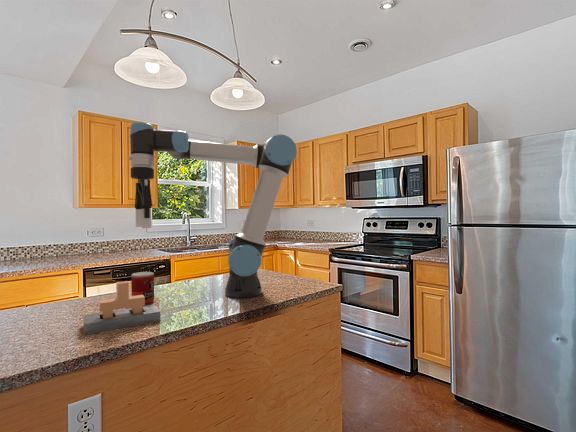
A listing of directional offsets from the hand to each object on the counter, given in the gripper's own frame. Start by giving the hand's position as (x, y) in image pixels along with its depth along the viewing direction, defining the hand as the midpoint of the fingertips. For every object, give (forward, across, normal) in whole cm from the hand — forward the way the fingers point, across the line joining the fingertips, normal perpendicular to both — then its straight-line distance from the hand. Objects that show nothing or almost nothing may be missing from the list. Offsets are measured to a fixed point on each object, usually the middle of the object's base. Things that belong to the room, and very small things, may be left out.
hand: (143, 227), depth 111 cm
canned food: (+29, -8, +1) cm, 30 cm away
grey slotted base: (+29, +13, -8) cm, 33 cm away
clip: (+29, +13, -8) cm, 33 cm away
